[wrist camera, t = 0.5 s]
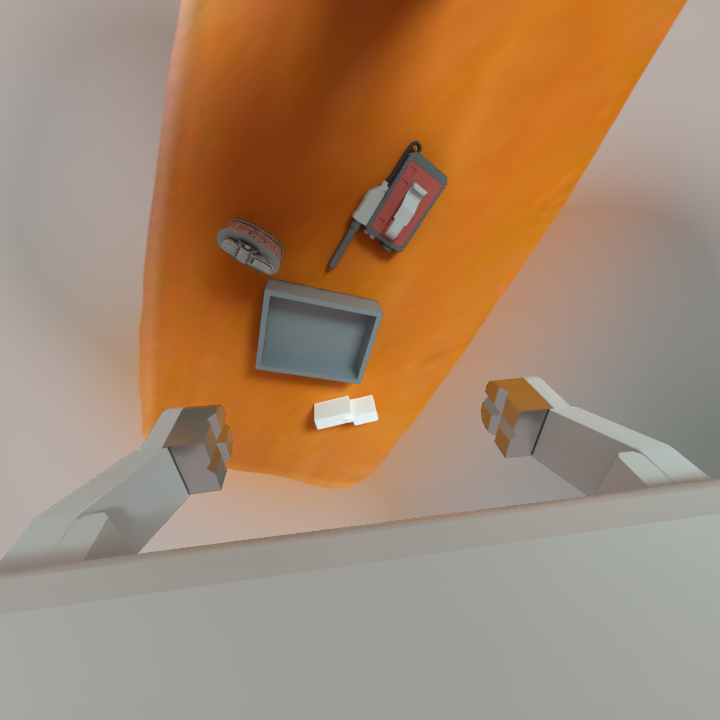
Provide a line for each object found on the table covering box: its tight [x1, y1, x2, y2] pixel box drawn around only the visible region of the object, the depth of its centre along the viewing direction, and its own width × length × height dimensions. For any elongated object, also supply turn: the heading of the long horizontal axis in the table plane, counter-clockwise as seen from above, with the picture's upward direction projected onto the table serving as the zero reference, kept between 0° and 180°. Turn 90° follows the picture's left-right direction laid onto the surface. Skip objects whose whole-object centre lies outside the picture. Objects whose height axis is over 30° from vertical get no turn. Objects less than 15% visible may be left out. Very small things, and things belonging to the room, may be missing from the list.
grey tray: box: [255, 278, 383, 384], centre depth 53 cm, size 14×18×5 cm
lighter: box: [216, 218, 284, 275], centre depth 42 cm, size 8×3×10 cm, turn 56°
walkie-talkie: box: [328, 141, 447, 269], centre depth 46 cm, size 9×4×20 cm
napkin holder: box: [314, 395, 378, 430], centre depth 63 cm, size 15×11×6 cm
